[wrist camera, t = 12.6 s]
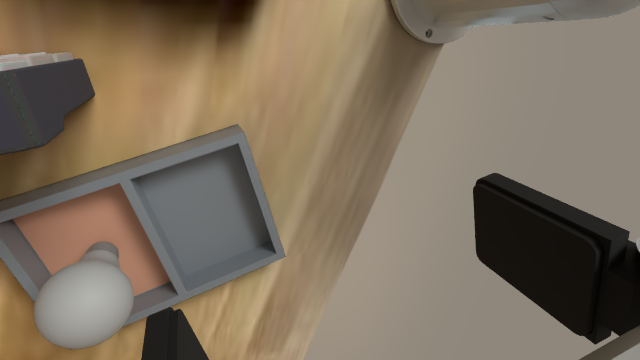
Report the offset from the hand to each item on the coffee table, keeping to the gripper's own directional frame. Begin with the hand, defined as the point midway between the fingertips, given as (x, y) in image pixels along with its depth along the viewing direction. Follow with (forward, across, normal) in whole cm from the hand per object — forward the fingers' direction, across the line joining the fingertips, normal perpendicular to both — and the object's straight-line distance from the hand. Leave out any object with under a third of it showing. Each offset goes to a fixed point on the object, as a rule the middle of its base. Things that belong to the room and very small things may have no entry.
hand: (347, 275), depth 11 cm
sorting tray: (+26, +11, +8) cm, 30 cm away
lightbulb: (+26, +16, +8) cm, 31 cm away
